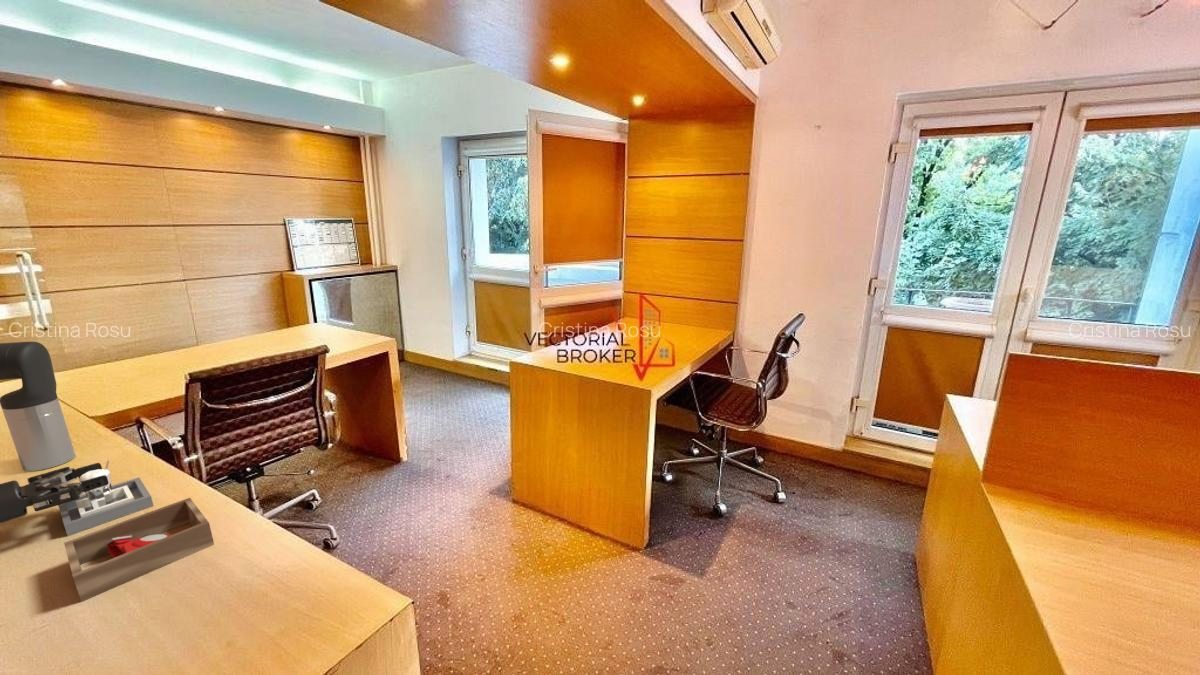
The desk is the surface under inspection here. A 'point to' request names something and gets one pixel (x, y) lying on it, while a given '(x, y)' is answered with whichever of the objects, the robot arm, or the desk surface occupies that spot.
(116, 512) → the dock box
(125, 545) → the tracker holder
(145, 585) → the desk surface
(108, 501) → the milkshake
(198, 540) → the tray
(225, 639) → the desk surface
